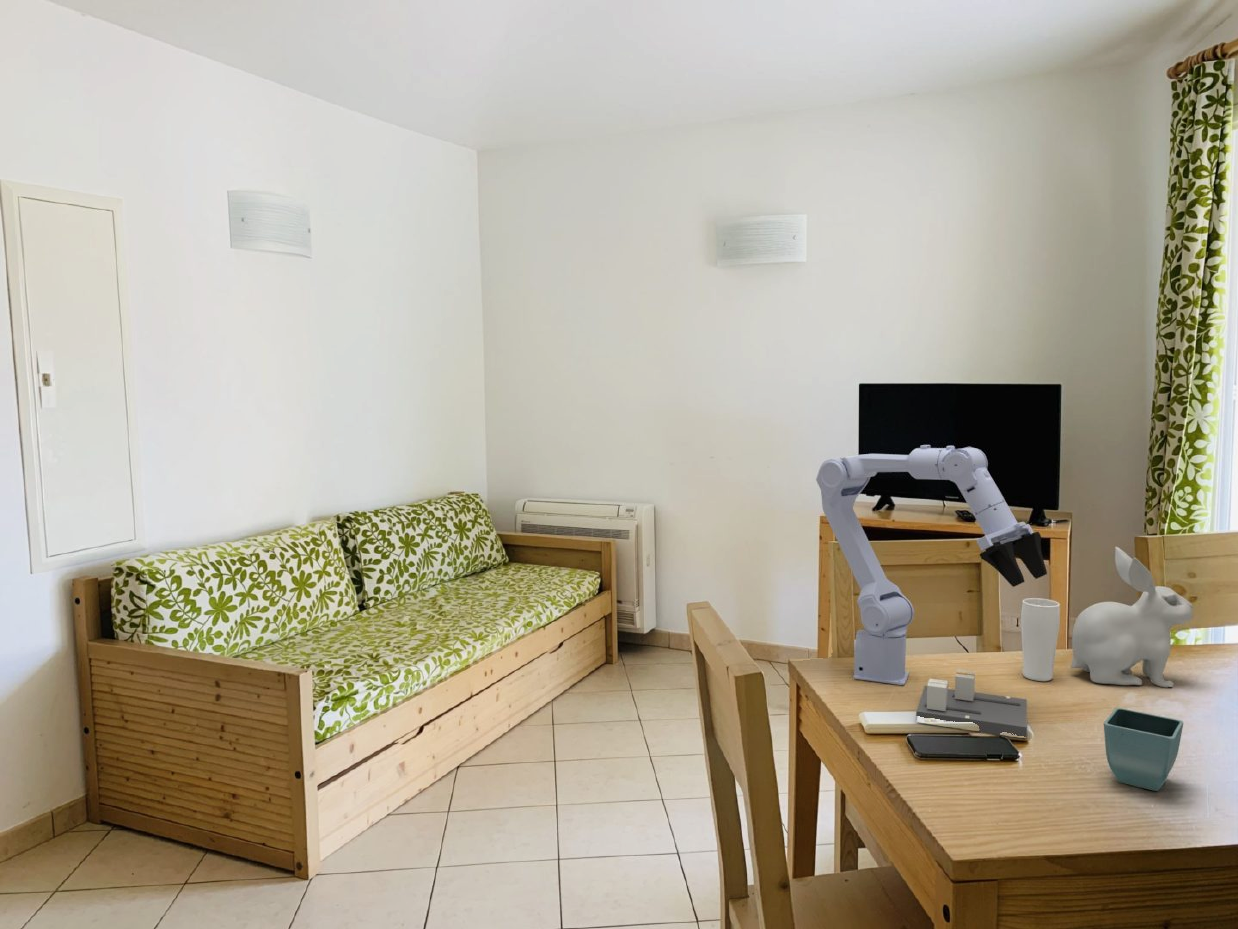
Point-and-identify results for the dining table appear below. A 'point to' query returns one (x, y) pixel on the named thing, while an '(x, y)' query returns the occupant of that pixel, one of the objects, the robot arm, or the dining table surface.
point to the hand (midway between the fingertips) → (1030, 580)
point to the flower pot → (1141, 747)
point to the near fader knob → (937, 694)
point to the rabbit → (1129, 630)
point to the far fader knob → (964, 685)
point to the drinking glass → (1039, 637)
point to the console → (982, 712)
